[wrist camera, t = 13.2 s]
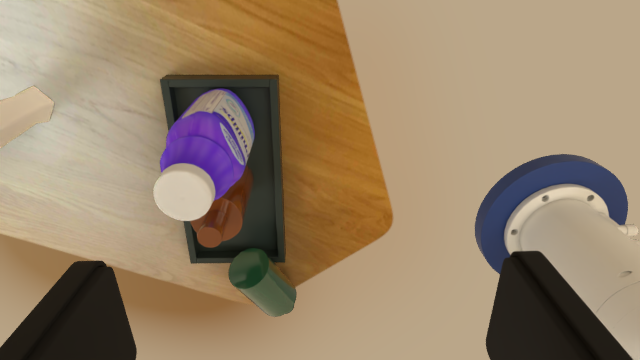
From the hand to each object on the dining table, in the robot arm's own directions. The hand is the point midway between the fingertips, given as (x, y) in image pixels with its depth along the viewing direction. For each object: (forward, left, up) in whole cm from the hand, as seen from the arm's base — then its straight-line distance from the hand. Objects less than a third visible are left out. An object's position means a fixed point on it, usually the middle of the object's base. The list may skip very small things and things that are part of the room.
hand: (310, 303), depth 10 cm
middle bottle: (+9, +13, -35) cm, 38 cm away
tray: (+9, +13, -36) cm, 39 cm away
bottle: (+9, +6, -35) cm, 37 cm away
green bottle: (+7, +22, -30) cm, 38 cm away
